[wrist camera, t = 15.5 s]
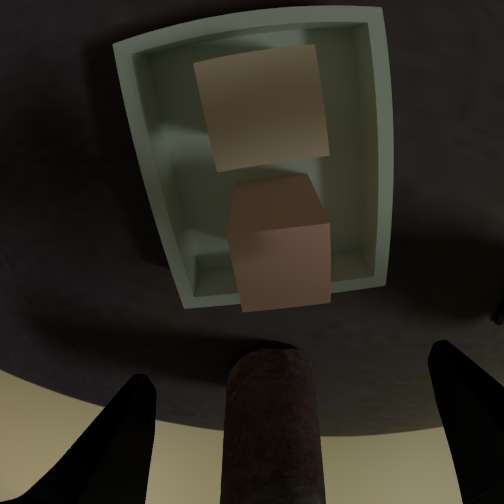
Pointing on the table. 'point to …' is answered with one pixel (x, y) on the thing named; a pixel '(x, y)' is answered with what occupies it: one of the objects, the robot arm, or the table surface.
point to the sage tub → (223, 183)
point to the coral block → (279, 244)
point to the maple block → (263, 106)
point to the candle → (272, 431)
